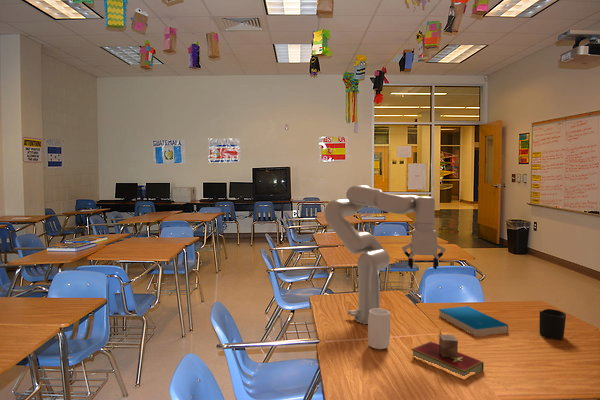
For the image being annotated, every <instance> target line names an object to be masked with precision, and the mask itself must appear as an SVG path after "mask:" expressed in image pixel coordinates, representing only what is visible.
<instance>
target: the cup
mask: <svg viewBox="0 0 600 400" xmlns="http://www.w3.org/2000/svg"><path fill="white" fill-rule="evenodd" d="M390 336H391V313H390V311H389V310H388V309H385V308H382V307H381V308H380V307H379V308H374V309H371V310H369V316H368V325H367V341H368V342H367V343H368V346H369V347H371V348H374V349H378V350H383V349H388V348H389V346H390Z"/></svg>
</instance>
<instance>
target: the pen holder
mask: <svg viewBox="0 0 600 400" xmlns="http://www.w3.org/2000/svg"><path fill="white" fill-rule="evenodd" d="M566 317H567V314H566V313H565V312H563V311H561V310H559V309H558V310H557V309H553V308H552V309H551V308H545V309H543V310H539V323H538V325H539V334H540V336H542V337H544V338H546V339H550V340H557V341H558V340H563V339H564V337H565V329H566V320H567V318H566Z"/></svg>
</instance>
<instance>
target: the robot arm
mask: <svg viewBox="0 0 600 400" xmlns="http://www.w3.org/2000/svg"><path fill="white" fill-rule="evenodd" d="M364 207H370V208H373V209H377V210H380V211H383V212H385V213H386V212H387V213H391V214H396V215H402V214H403V215H404V214H412V213H414V214H415V215H414V222H413V223H411V224H410V225H411V226H410V227H411V228H414V229H413V230H412V232H411V240H410V243H408V244H406V245H403V246H402V247H401V249H402V251H403V253H404V255H405V256H406V257H407V266H408V267H409V268H410V269H413V267H414V266H413V265H414V259H413V257H414V256H416V255H417V256H433V259H432V262H433V263H432V268H433V269H434V270H437V269H438V266H439V260H440V258H442V256H443V255H444V254H445V252H446V248H445V247H443V246H442V245H440V244H438V235H437V230H435V214H436V213H435V209H436V199H435V197H433V196H426V195H424V196H423V195H422V196H421V195H420V196H419V195H414V194H404V195H403V194H401V195H398V194H390V193H385V192H384V191H383V190H382V189H381V188H373V187H370V186H369V185H366V184H365V185H364V184H361V185H352V186H350V187H348V189H347V190H346V198H341V199H340V198H339V199H333V200H331V201H329V202H327V204H325V208H324V218H325V221H326V224H328V226H329V227H330V229H331V230H332V231H333V232H334V233H335V234H336V236H337V237H338V238H339V240H340V241H341V242H342V244H344V246H345V247H346V249H347V250H348V251H349V252H350V253H351V254H354V255H359V254H360V255H359V257H358V258H357V262H356V263H357V264H356V265H357V271H358V303H357V304H358V306H357V307H356V309H355V310H351V309H350V310H347V315H350V317H354V321H355V320H356V321H357V323H358V322H360V323H359V324H361V323H363V324H362V325H365V324H368V316H369V310H371V309H374V308H380V305H381V304H380V300H381V299H380V296H381V279H380V276H379V275H380V274H379V271H381V270H384V269H386V268H387V267H388V266H389V265H390V262H391V258H390V255H389V253H388V251H387V250H386V249H385V247H383V245H382V244H381V243H380V242H379V240H378V239H377V238H376V237H375V236H374V235H373V234H372V233H371V232H368V231H360V232H359V231H358V230H357V229H356V228H355V227H354V226H353V224H352V223H351V222H350V221H348V220H347V219H346V217H351V216H353V215H355V214H357V213H358V212H359V211H360V210H362V209H363V208H364ZM344 217H345V218H344ZM407 249H410V252H408V250H407ZM438 249H439V251H438ZM356 321H355V322H356Z"/></svg>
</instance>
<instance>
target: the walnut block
mask: <svg viewBox="0 0 600 400" xmlns="http://www.w3.org/2000/svg"><path fill="white" fill-rule="evenodd" d="M438 337H439V339H438V340H439V341H438V344H439V352H440V354H441V355H442V357H451V358H457V352H459V351H458V348H459V347H458V346H459V345H458V343H459V340H458V339H457V338H456V336H455V335H453V334H452V335H451V334H439V336H438Z"/></svg>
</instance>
